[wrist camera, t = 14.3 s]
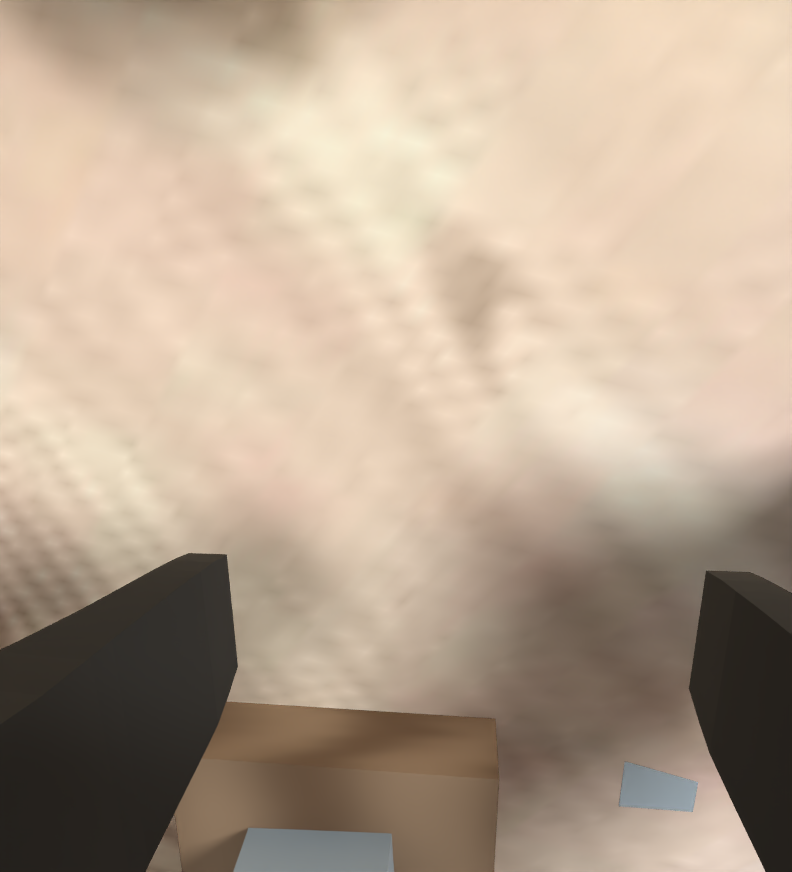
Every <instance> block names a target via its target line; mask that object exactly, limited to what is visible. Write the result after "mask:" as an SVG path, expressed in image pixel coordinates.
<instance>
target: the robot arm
mask: <svg viewBox="0 0 792 872" xmlns="http://www.w3.org/2000/svg"><path fill="white" fill-rule="evenodd" d="M237 667H238V664H237V654H236V644H235V634H234V624H233V614H232V604H231V594H230V584H229V574H228V564H227V555H225V554H195V553H188V554H186V555H183V556H181V557H179V558H176V559H174V560H172V561H170V562H168V563H166V564H164V565H162V566H160V567H158V568H156V569H154V570H153V571H151V572H149V573H147V574H145V575H143V576H142V577H140V578H138V579H136V580H134V581H132V582H131V583H129V584H127V585H125V586H123V587H122V588H120V589H118V590H116V591H114V592H112V593H111V594H109V595H107V596H105V597H103V598H101V599H100V600H98V601H96V602H94V603H92V604H90V605H89V606H87V607H85V608H83V609H81V610H79V611H77V612H75V613H73V614H71V615H69V616H67V617H65V618H63V619H61V620H59V621H57V622H55V623H53V624H52V625H50V626H48V627H46V628H44V629H42V630H40V631H38V632H36V633H34V634H32V635H30V636H28V637H26V638H24V639H22V640H20V641H18V642H16V643H14V644H12V645H9V646H7V647H5V648H3V649H1V650H0V872H146V869H147V867H148V865H149V863H150V861H151V859H152V857H153V855H154V853H155V851H156V849H157V847H158V845H159V843H160V841H161V839H162V837H163V835H164V833H165V831H166V829H167V827H168V825H169V823H170V821H171V819H172V817H173V815H174V813H175V811H176V809H177V807H178V805H179V803H180V801H181V799H182V797H183V795H184V793H185V791H186V789H187V787H188V785H189V783H190V781H191V779H192V777H193V775H194V773H195V771H196V769H197V767H198V765H199V763H200V761H201V759H202V757H203V755H204V753H205V751H206V749H207V747H208V745H209V743H210V740H211V738H212V736H213V734H214V732H215V730H216V728H217V726H218V723H219V721H220V718H221V715H222V712H223V709H224V706H225V704H226V701H227V698H228V695H229V692H230V689H231V686H232V683H233V679H234V676H235V673H236V670H237ZM689 690H690V693H691V697H692V700H693V703H694V706H695V710H696V713H697V716H698V720H699V723H700V726H701V729H702V732H703V735H704V738H705V741H706V744H707V747H708V750H709V753H710V755H711V757H712V759H713V762H714V764H715V766H716V768H717V770H718V772H719V775H720V777H721V779H722V781H723V783H724V785H725V787H726V790H727V792H728V794H729V796H730V798H731V800H732V802H733V804H734V807H735V809H736V811H737V813H738V815H739V817H740V819H741V821H742V823H743V825H744V828H745V830H746V832H747V834H748V836H749V838H750V840H751V842H752V844H753V846H754V848H755V850H756V853H757V855H758V857H759V859H760V861H761V863H762V865H763V867H764V869H765V871H766V872H792V593H790V592H788V591H786V590H785V589H783V588H781V587H779V586H777V585H775V584H774V583H772V582H770V581H768V580H766V579H764V578H762V577H760V576H757V575H755V574H753V573H750V572H727V571H706V575H705V582H704V589H703V596H702V603H701V610H700V617H699V623H698V630H697V637H696V644H695V651H694V658H693V665H692V672H691V679H690V686H689Z"/></svg>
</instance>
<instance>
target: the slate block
mask: <svg viewBox="0 0 792 872" xmlns="http://www.w3.org/2000/svg"><path fill="white" fill-rule="evenodd" d="M233 872H394V863H393V848H392V834H391V833H367V832H343V831H318V830H294V829H266V828H248V831H247V833H246V836H245V839H244V842H243V845H242V848H241V851H240V854H239V857H238V860H237V862H236V865H235V868H234V871H233Z"/></svg>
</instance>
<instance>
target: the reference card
mask: <svg viewBox="0 0 792 872" xmlns="http://www.w3.org/2000/svg"><path fill="white" fill-rule="evenodd" d="M697 785H698V782H695V781H692V780H688V779H685V778H682V777H678V776H675V775H671V774H668V773H664V772H661V771H657V770H654V769H650V768H647V767H643V766H640V765H636V764H633V763H629V762H626V761H625V764H624V772H623V779H622V786H621V793H620V801H619V806H623V807H636V808H649V809H662V810H675V811H688V812H693V808H694V802H695V797H696V791H697Z"/></svg>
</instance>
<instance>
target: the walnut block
mask: <svg viewBox="0 0 792 872" xmlns="http://www.w3.org/2000/svg"><path fill="white" fill-rule="evenodd" d="M498 791H499V769H498V754H497V739H496V724H495V719H491V718H475V717H459V716H444V715H428V714H412V713H396V712H380V711H365V710H349V709H333V708H317V707H302V706H286V705H270V704H254V703H238V702H226V704H225V706H224V709H223V712H222V715H221V718H220V721H219V723H218V726H217V728H216V730H215V732H214V734H213V736H212V738H211V740H210V743H209V745H208V747H207V749H206V751H205V753H204V755H203V757H202V759H201V761H200V763H199V765H198V767H197V769H196V771H195V773H194V775H193V777H192V779H191V781H190V783H189V785H188V787H187V789H186V791H185V793H184V795H183V797H182V799H181V801H180V803H179V805H178V807H177V809H176V811H175V819H176V827H177V835H178V842H179V850H180V857H181V865H182V872H233V871H234V868H235V865H236V862H237V860H238V857H239V854H240V851H241V848H242V845H243V842H244V839H245V836H246V833H247V831H248V828H266V829H294V830H318V831H343V832H367V833H391V834H392V848H393V863H394V872H494V859H495V842H496V825H497V808H498Z"/></svg>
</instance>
